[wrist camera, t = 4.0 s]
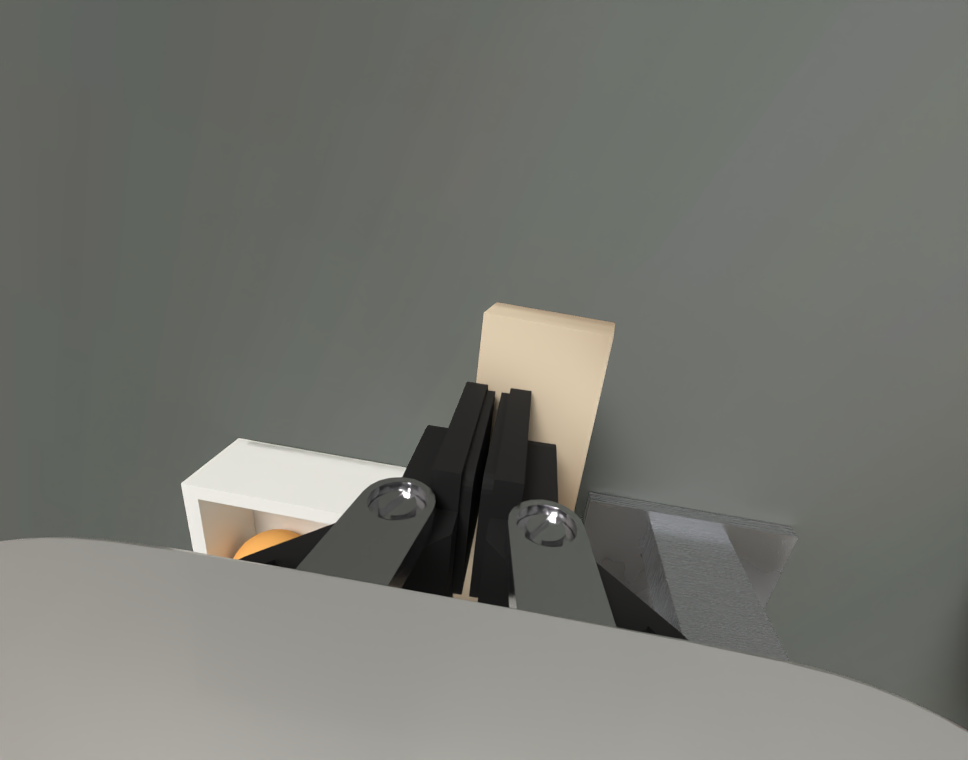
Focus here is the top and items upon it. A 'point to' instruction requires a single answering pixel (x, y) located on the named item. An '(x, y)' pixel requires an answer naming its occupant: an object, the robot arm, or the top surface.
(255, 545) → the ball
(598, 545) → the stand
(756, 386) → the top surface
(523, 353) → the lever
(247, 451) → the tray
